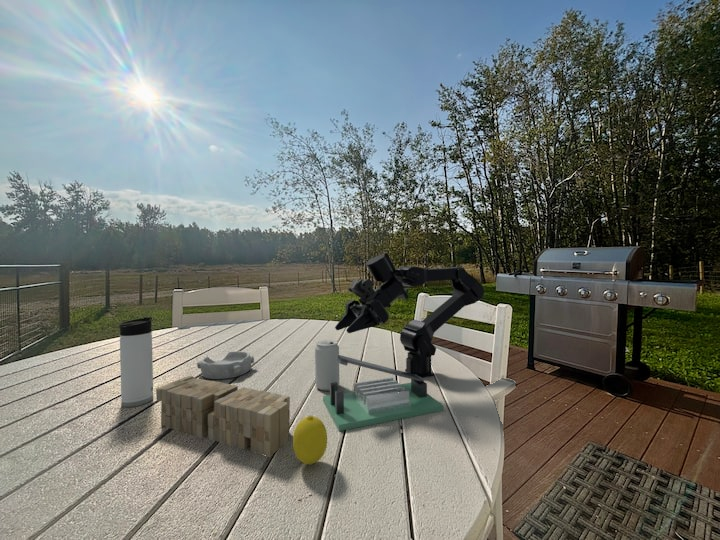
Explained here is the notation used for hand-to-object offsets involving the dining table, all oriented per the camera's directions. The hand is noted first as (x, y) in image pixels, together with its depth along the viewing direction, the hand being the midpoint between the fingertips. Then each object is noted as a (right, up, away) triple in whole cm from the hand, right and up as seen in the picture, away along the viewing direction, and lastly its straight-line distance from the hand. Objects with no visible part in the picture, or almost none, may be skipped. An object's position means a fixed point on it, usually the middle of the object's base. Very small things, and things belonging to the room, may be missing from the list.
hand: (341, 330), depth 79 cm
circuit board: (+10, -16, -9) cm, 20 cm away
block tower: (-22, -17, -18) cm, 33 cm away
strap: (+10, -8, -9) cm, 15 cm away
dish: (-36, -16, +14) cm, 42 cm away
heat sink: (+10, -14, -9) cm, 19 cm away
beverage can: (-4, -16, +2) cm, 16 cm away
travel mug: (-49, -16, -5) cm, 52 cm away
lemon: (-3, -16, -29) cm, 34 cm away
